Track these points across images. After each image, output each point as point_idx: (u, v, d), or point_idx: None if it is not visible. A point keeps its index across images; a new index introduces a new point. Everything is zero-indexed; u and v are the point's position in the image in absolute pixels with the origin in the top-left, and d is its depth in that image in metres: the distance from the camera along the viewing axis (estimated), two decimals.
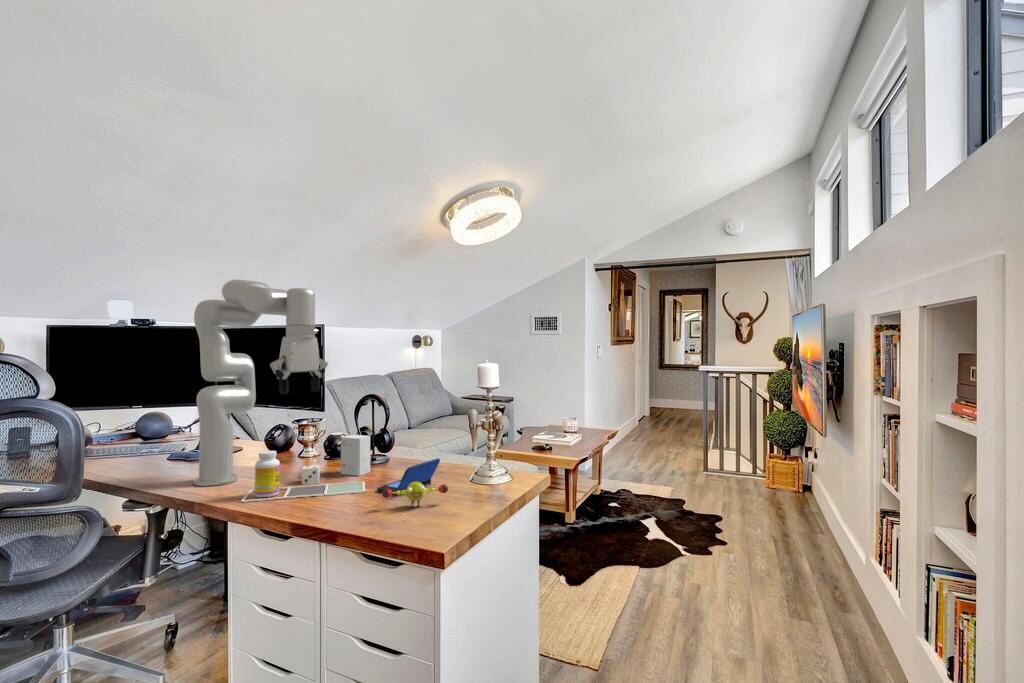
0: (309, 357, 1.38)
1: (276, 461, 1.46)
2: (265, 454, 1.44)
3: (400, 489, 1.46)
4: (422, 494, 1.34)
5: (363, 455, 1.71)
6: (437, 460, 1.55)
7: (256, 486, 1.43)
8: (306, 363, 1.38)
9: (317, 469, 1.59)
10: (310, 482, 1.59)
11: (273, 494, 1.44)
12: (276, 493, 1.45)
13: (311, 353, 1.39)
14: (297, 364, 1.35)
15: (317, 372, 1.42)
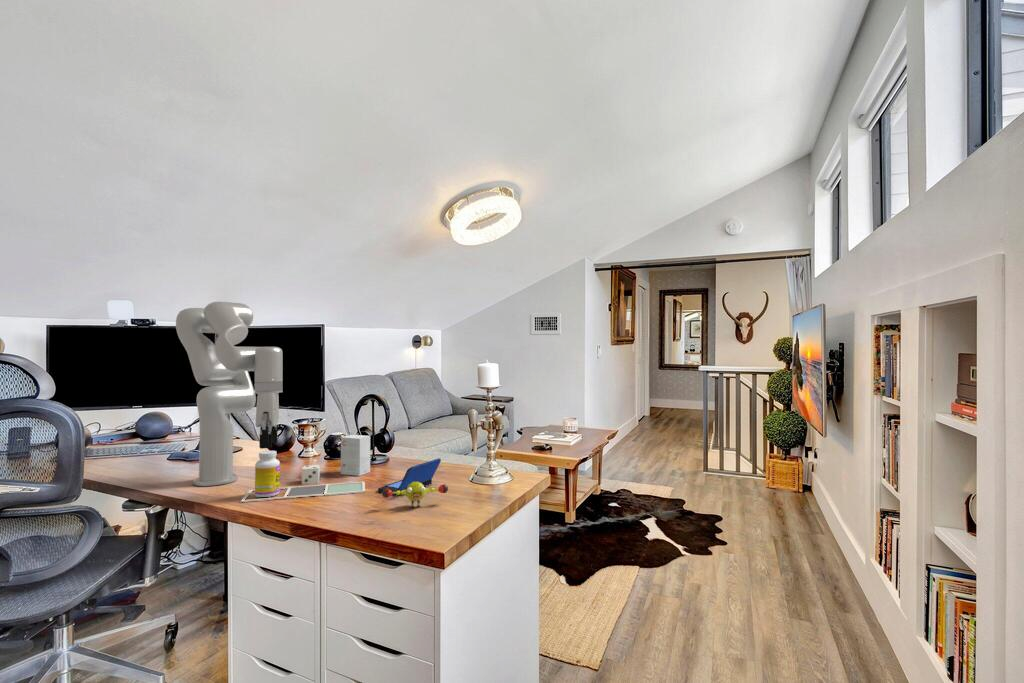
0: (278, 411, 1.48)
1: (276, 461, 1.46)
2: (265, 454, 1.44)
3: (401, 489, 1.46)
4: (422, 494, 1.34)
5: (363, 455, 1.71)
6: (438, 460, 1.55)
7: (256, 486, 1.43)
8: (277, 417, 1.47)
9: (317, 469, 1.59)
10: (310, 482, 1.59)
11: (273, 494, 1.44)
12: (276, 493, 1.45)
13: (278, 407, 1.49)
14: (275, 418, 1.45)
15: (276, 424, 1.51)
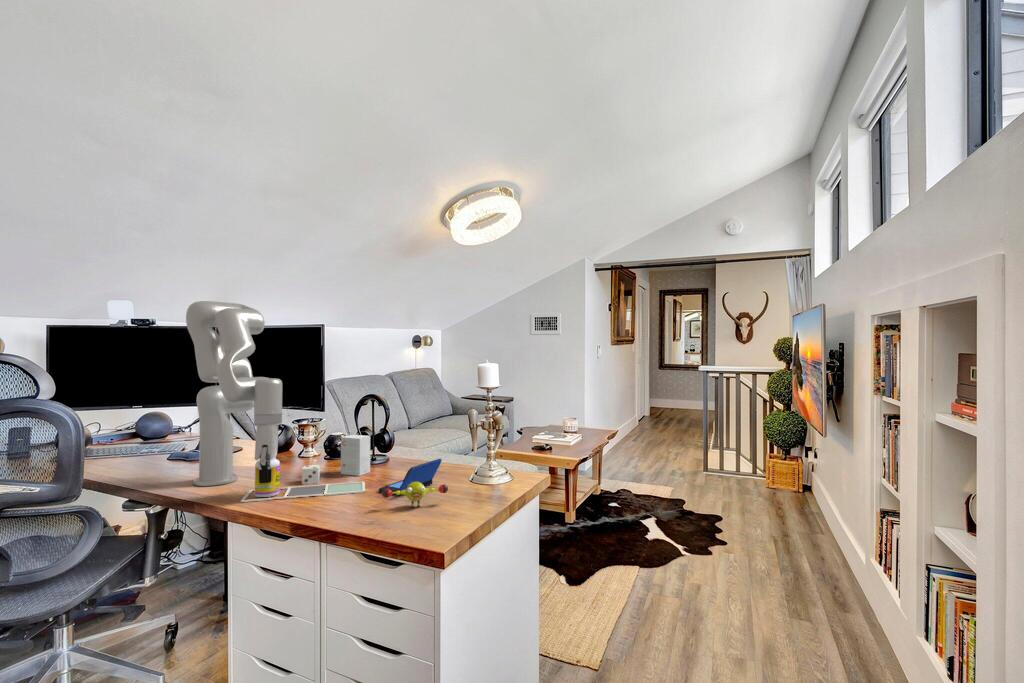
0: (277, 442, 1.48)
1: (276, 461, 1.46)
2: None
3: (402, 489, 1.45)
4: (422, 494, 1.34)
5: (363, 455, 1.71)
6: (439, 460, 1.54)
7: (256, 486, 1.43)
8: (276, 448, 1.47)
9: (317, 469, 1.59)
10: (310, 482, 1.59)
11: (273, 494, 1.44)
12: (276, 493, 1.45)
13: (277, 438, 1.49)
14: (274, 451, 1.45)
15: None
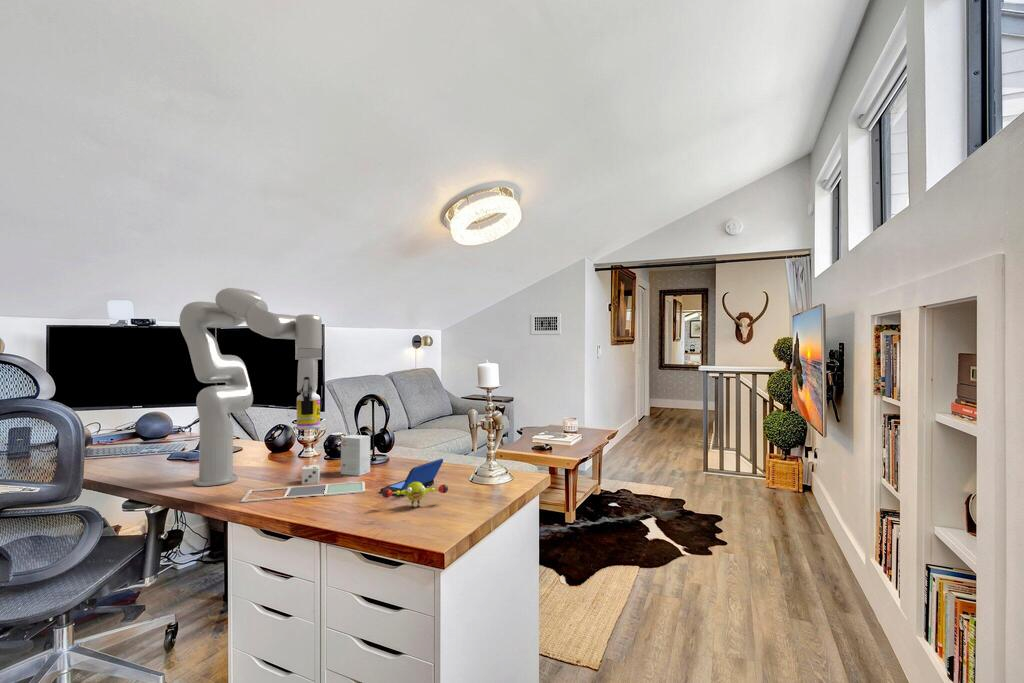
0: (317, 377, 1.52)
1: (317, 395, 1.49)
2: None
3: None
4: (422, 494, 1.34)
5: (363, 455, 1.71)
6: (440, 460, 1.54)
7: (298, 418, 1.47)
8: (316, 383, 1.51)
9: (317, 469, 1.59)
10: (310, 482, 1.59)
11: (314, 426, 1.48)
12: (317, 425, 1.49)
13: (317, 374, 1.52)
14: (315, 384, 1.48)
15: None
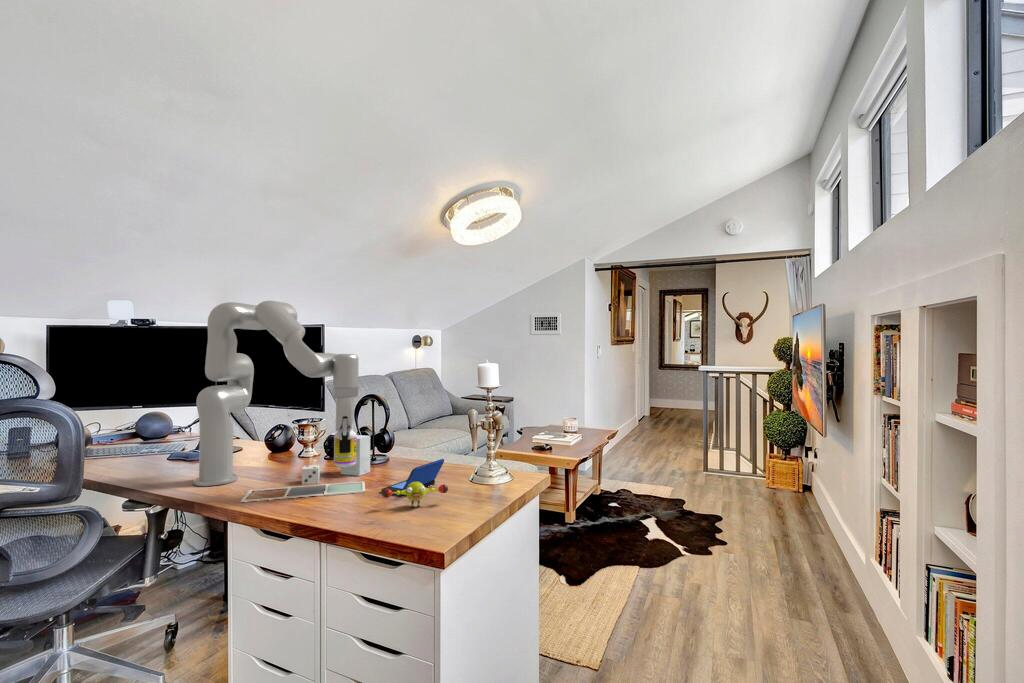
0: None
1: (353, 432, 1.53)
2: None
3: None
4: (422, 494, 1.34)
5: (363, 455, 1.71)
6: (441, 460, 1.54)
7: (336, 456, 1.50)
8: None
9: (317, 469, 1.59)
10: (310, 482, 1.59)
11: (352, 463, 1.51)
12: (354, 463, 1.52)
13: None
14: None
15: None
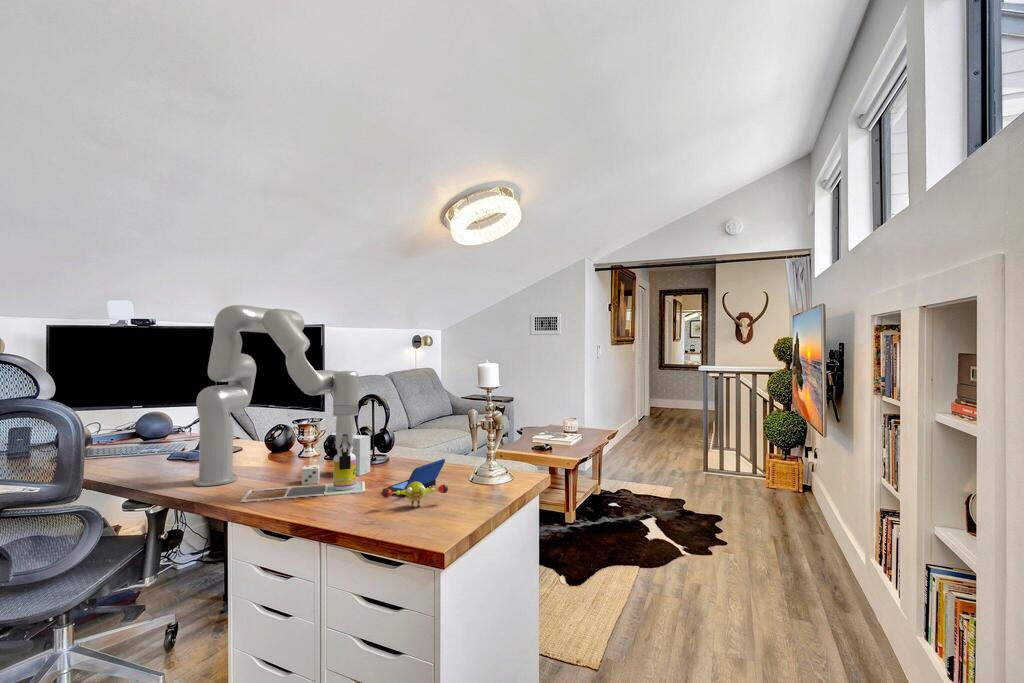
0: None
1: (353, 455, 1.53)
2: None
3: None
4: (422, 494, 1.34)
5: (363, 455, 1.71)
6: (442, 461, 1.54)
7: (335, 479, 1.50)
8: None
9: (317, 469, 1.59)
10: (310, 482, 1.59)
11: (351, 487, 1.51)
12: (353, 486, 1.52)
13: None
14: None
15: None
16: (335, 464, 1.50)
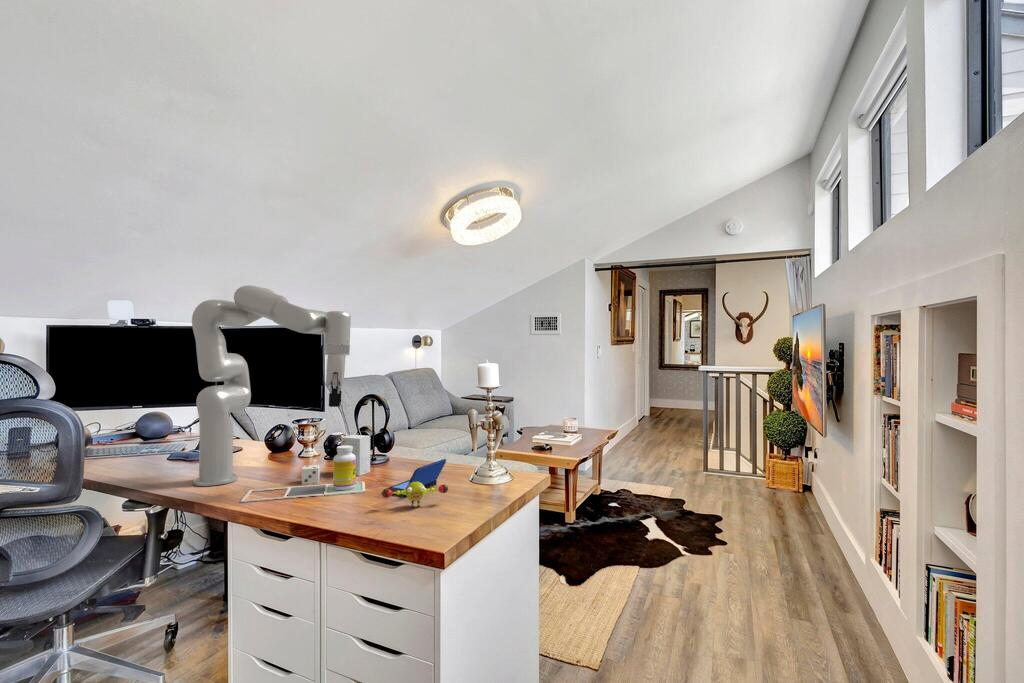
0: None
1: (353, 455, 1.53)
2: (343, 448, 1.51)
3: None
4: (422, 494, 1.34)
5: (363, 455, 1.71)
6: (443, 461, 1.54)
7: (335, 479, 1.50)
8: None
9: (317, 469, 1.59)
10: (310, 482, 1.59)
11: (351, 487, 1.51)
12: (353, 486, 1.52)
13: None
14: (343, 379, 1.52)
15: None
16: (335, 464, 1.50)
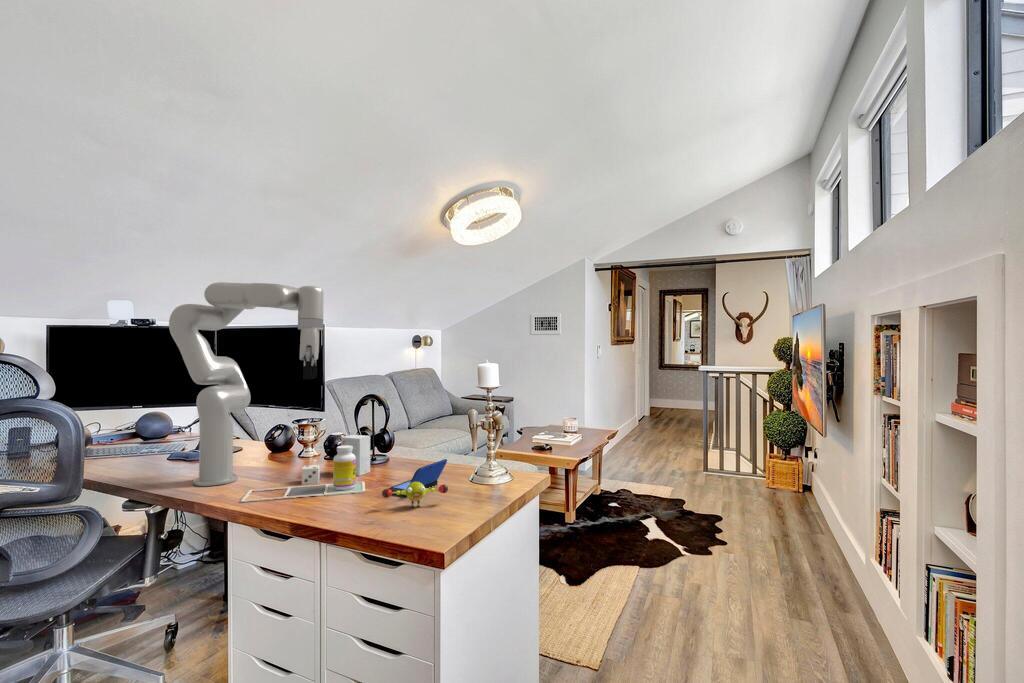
0: None
1: (353, 455, 1.53)
2: (343, 448, 1.51)
3: None
4: (422, 494, 1.34)
5: (363, 455, 1.71)
6: (444, 461, 1.54)
7: (335, 479, 1.50)
8: (318, 352, 1.57)
9: (317, 469, 1.59)
10: (310, 482, 1.59)
11: (351, 487, 1.51)
12: (353, 486, 1.52)
13: None
14: (317, 353, 1.55)
15: None
16: (335, 464, 1.50)
